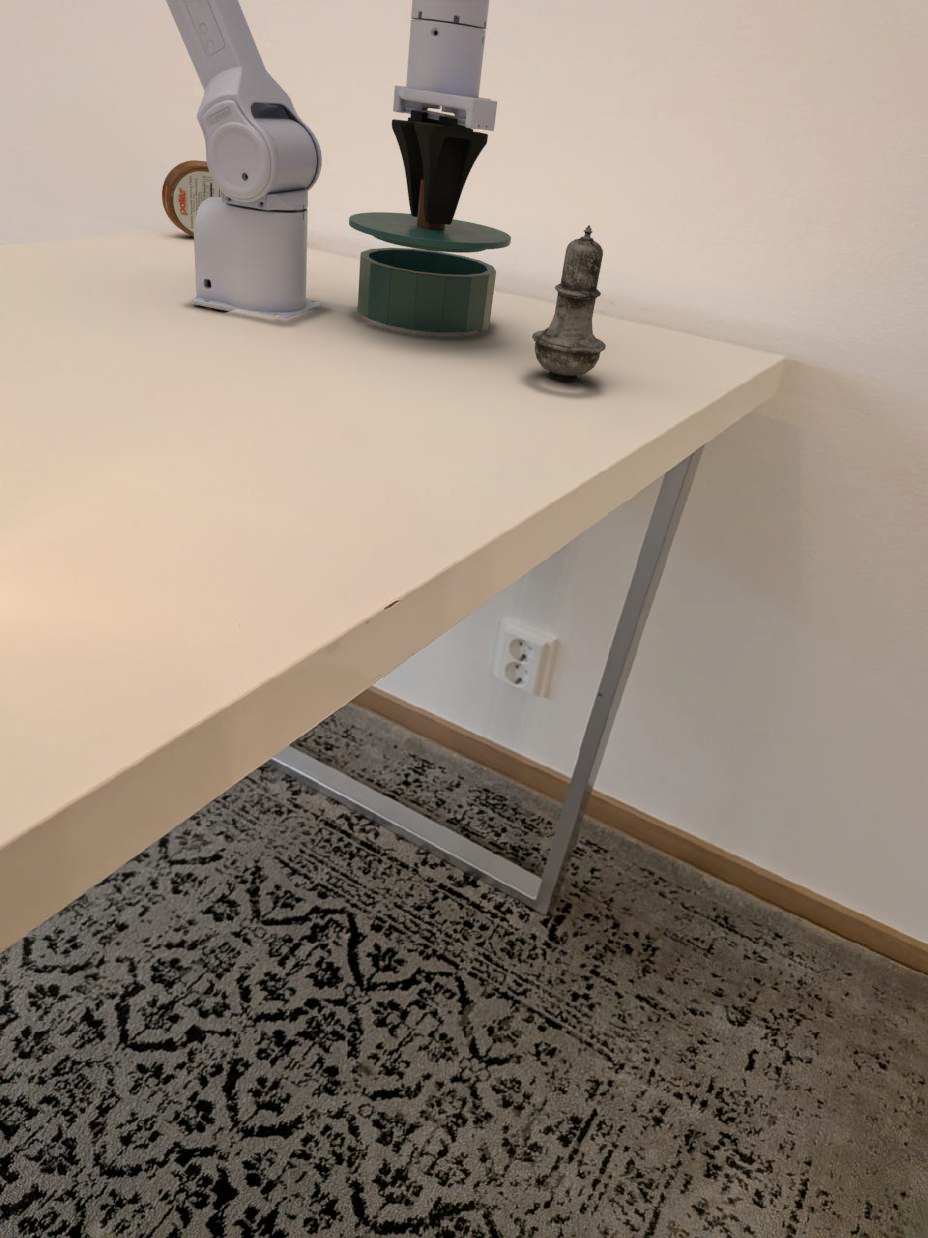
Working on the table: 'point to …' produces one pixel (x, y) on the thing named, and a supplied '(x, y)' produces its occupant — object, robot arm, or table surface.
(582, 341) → the salt shaker
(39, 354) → the table surface
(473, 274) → the canister
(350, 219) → the lid
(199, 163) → the tin
